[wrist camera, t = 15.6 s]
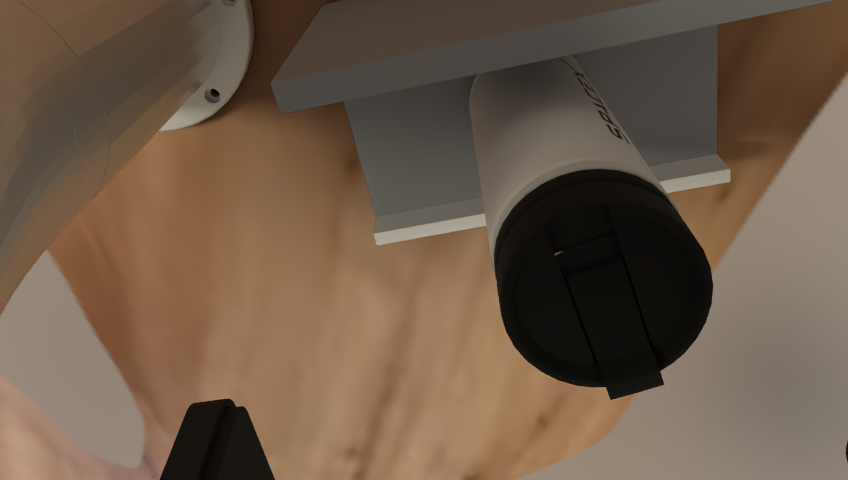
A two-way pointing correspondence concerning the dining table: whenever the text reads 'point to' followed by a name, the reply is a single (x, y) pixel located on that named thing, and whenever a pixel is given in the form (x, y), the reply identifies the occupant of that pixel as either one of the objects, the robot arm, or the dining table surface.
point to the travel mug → (582, 233)
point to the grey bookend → (497, 49)
